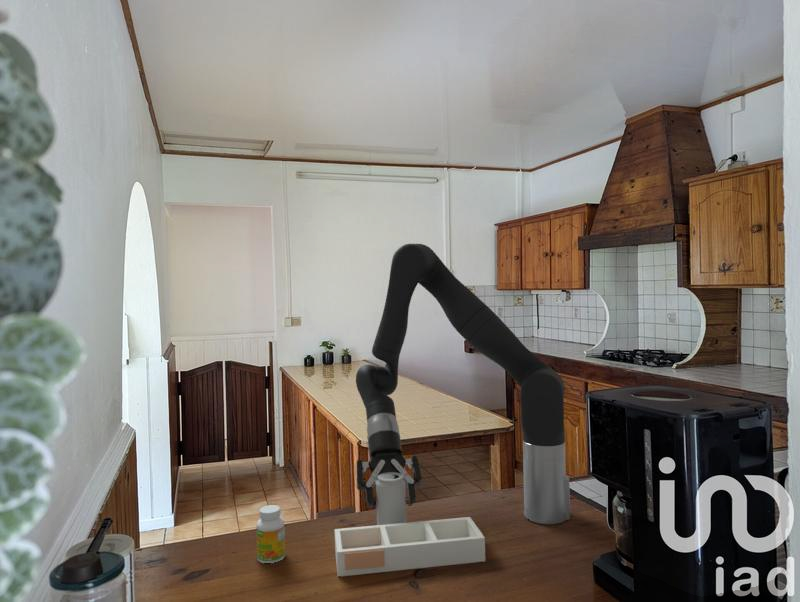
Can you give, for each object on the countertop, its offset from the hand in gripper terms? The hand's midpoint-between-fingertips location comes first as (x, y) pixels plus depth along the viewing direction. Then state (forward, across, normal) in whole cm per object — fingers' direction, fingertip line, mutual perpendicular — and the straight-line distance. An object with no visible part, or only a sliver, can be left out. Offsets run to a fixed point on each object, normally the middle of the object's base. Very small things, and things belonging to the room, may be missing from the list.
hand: (392, 504), depth 119 cm
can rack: (+12, +2, -3) cm, 12 cm away
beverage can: (+4, 0, +6) cm, 7 cm away
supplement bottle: (+9, -25, 0) cm, 26 cm away
